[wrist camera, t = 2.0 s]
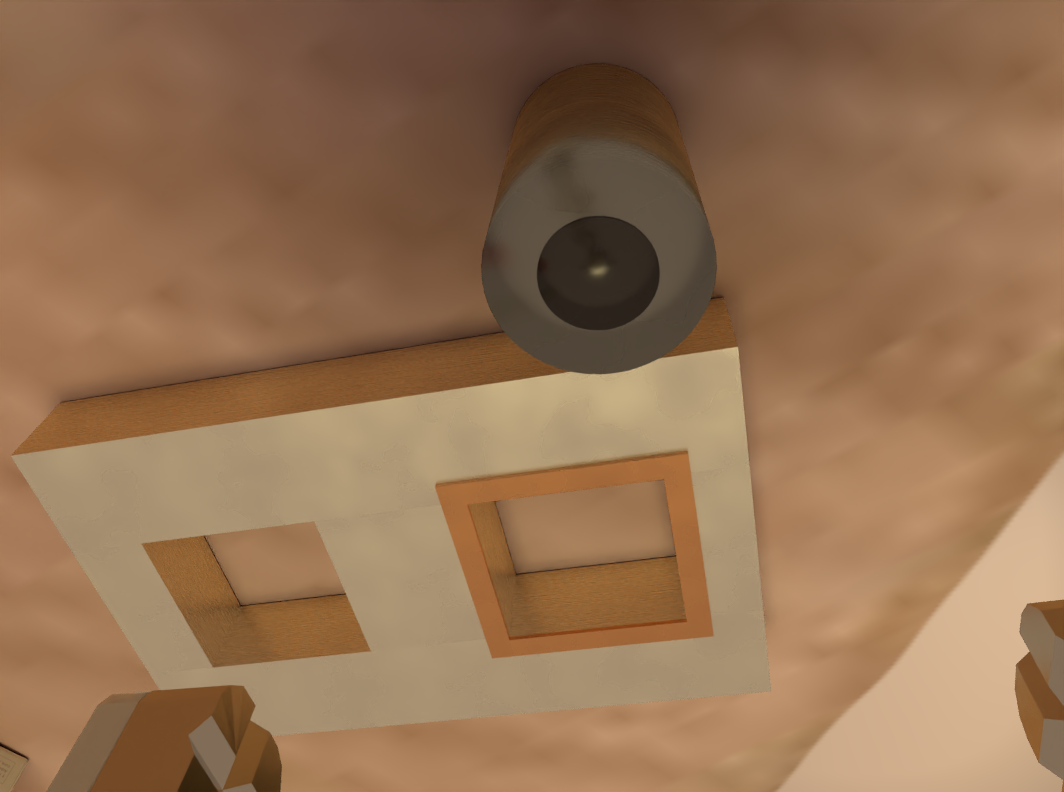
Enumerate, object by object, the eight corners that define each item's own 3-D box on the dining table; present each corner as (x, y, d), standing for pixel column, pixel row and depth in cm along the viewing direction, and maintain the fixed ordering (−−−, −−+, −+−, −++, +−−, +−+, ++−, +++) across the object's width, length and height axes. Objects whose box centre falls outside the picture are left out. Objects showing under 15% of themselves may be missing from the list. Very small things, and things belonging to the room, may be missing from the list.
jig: (60, 402, 30) (7, 458, 27) (723, 297, 26) (739, 349, 24) (221, 680, 37) (192, 746, 34) (757, 626, 33) (772, 694, 31)
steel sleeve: (494, 82, 23) (455, 184, 16) (669, 46, 23) (704, 138, 16) (530, 243, 26) (508, 391, 19) (689, 216, 25) (727, 359, 18)
